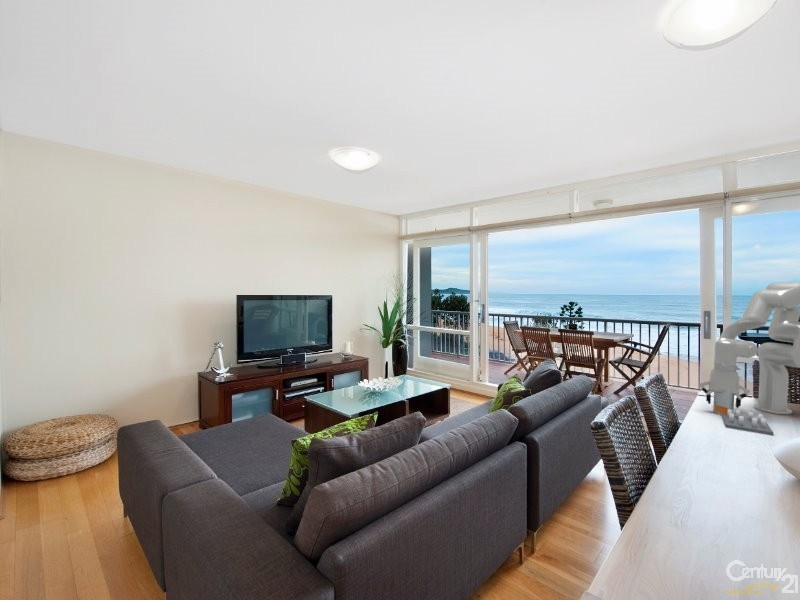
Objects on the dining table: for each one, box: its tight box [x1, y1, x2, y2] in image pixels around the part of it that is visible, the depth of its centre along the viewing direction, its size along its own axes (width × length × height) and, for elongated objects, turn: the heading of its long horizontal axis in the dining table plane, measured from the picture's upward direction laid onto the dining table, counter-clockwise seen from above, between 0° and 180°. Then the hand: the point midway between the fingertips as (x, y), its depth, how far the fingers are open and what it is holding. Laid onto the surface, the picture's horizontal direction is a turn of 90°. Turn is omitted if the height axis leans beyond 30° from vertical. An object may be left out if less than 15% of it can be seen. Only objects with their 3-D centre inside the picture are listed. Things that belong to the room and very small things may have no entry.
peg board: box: [721, 409, 774, 436], centre depth 155 cm, size 16×14×5 cm
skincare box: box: [712, 389, 735, 415], centre depth 169 cm, size 6×4×12 cm
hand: (722, 405), depth 169 cm, fingers open, 9 cm apart
